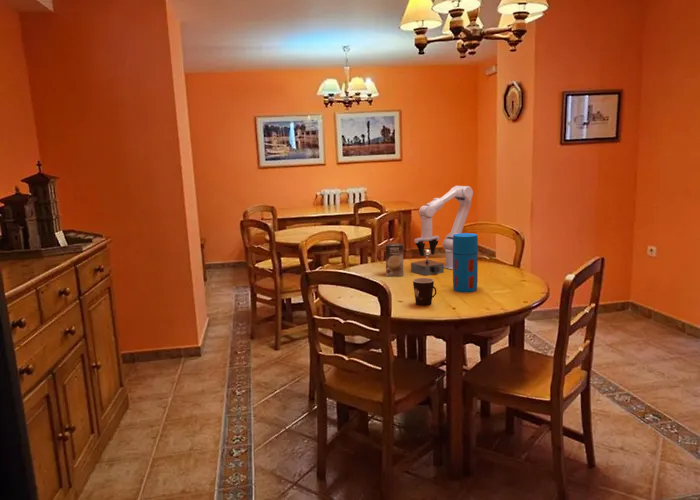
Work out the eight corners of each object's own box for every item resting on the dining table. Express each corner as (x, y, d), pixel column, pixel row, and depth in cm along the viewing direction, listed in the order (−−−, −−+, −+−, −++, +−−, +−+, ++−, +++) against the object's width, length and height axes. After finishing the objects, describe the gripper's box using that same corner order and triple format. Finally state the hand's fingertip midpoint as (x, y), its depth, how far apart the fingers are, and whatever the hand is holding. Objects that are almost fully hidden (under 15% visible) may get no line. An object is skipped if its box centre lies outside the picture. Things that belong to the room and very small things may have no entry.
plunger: (427, 262, 271) (427, 248, 270) (432, 263, 268) (432, 249, 266) (421, 263, 269) (421, 249, 268) (426, 264, 266) (426, 250, 265)
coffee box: (385, 276, 263) (384, 245, 260) (386, 273, 269) (385, 243, 266) (403, 276, 262) (403, 245, 259) (403, 273, 268) (403, 243, 265)
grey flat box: (429, 268, 277) (429, 259, 277) (446, 273, 265) (446, 264, 265) (411, 271, 272) (410, 262, 271) (427, 276, 260) (427, 267, 259)
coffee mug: (411, 301, 218) (410, 278, 216) (431, 300, 218) (431, 277, 216) (417, 309, 206) (416, 285, 204) (438, 308, 207) (438, 284, 205)
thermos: (478, 287, 236) (478, 233, 232) (476, 293, 226) (476, 237, 222) (454, 286, 240) (454, 232, 235) (451, 292, 230) (451, 236, 225)
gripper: (433, 226, 272) (433, 252, 275) (410, 229, 265) (411, 255, 268) (441, 228, 266) (441, 254, 269) (418, 231, 259) (419, 257, 262)
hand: (427, 255), depth 268 cm, fingers open, 6 cm apart
